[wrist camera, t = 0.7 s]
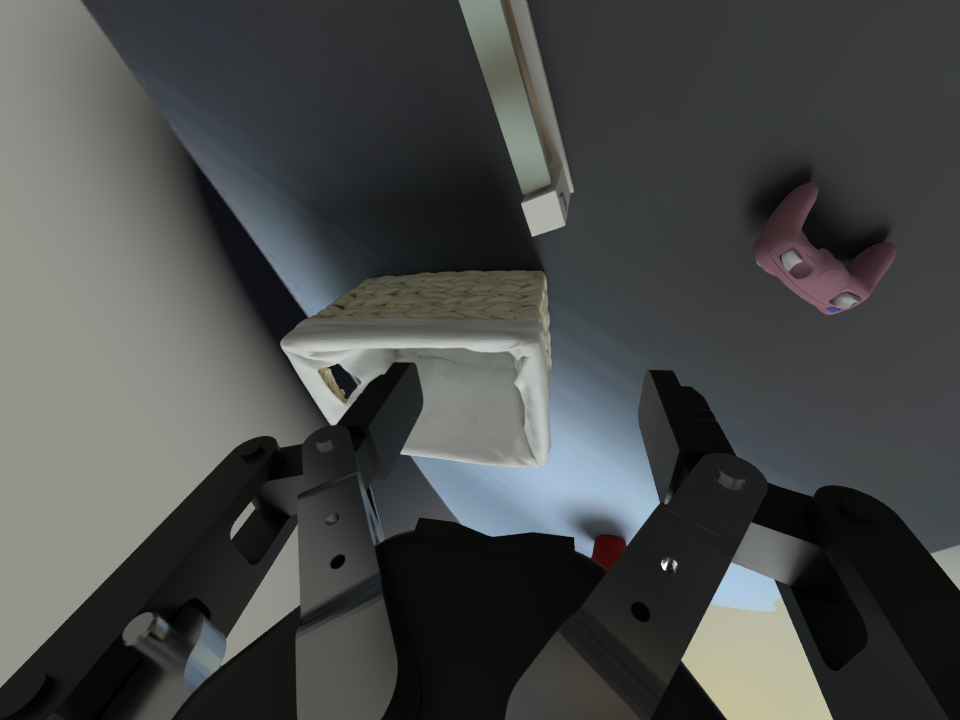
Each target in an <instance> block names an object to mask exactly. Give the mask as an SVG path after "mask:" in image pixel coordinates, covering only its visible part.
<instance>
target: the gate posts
mask: <svg viewBox="0 0 960 720" xmlns="http://www.w3.org/2000/svg"><path fill="white" fill-rule="evenodd" d="M510 3H511V7H512V11H513V14H514V18H515V22H516V25H517V29H518V33H519V36H520V40H521V44H522V48H523V51H524V55H525V59H526V62H527V66H528V70H529V73H530V77H531V81H532V84H533V88H534V92H535V96H536V99H537V103H538V107H539V110H540V114H541V118H542V121H543V125H544V129H545V132H546V136H547V140H548V144H549V147H550V151H551V155H552V160H551V163H550V165H549V167H550V171H551V174H552V178H553V180H552V183H551V184H549V185H546V186H544V187H541V188H539V189H536V190H534V191H531V192H529V193H526V195H525V197H524V199H523V201H522V203H521V205H522V208H523V212H524V215H525V217H526V220H527V223H528V226H529V229H530V232H531V235H532V237H533V236H536V235H539V234H542V233H545V232H548V231H551V230H554V229H557V228H560V227H563V226H565V224H566V218H567V211H568V205H569V199H570V193H572V192H574V186H573V182H572V178H571V174H570V170H569V166H568V162H567V158H566V154H565V150H564V146H563V142H562V138H561V134H560V130H559V126H558V122H557V118H556V114H555V110H554V106H553V102H552V98H551V94H550V90H549V86H548V82H547V78H546V74H545V70H544V66H543V62H542V58H541V54H540V50H539V46H538V42H537V38H536V34H535V30H534V26H533V22H532V18H531V14H530V10H529V6H528V2H527V0H510Z"/></svg>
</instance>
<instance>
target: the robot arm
mask: <svg viewBox="0 0 960 720" xmlns="http://www.w3.org/2000/svg"><path fill="white" fill-rule="evenodd" d="M423 401H424V400H423V392H422V388H421V383H420V379H419V374H418V369H417V366H416V364H415V363H414V362H394V363H393V364H392V365H391V366H390V367H389V369H388V370H387V371H386V373H385V374H381V375H379V376H378V377H376V378H375V379H373V380H372V381H370V382H369V383H368V385H367V386H366V387H365V388H364V390H363V391H362V393H360V395H359V396H358V397H357V400H355V401H354V402H353V404H352V405H351V406H350V407H349V409H348V410H347V411H346V413H345V414H344V415H343V416H342V418H341V419H340V420H339V421H338V423H337V424H336V425H331V426H327V427H323V428H321V429H319V430H317V431H315V432H314V433H312V434H311V435H310V436H309V437H308V438H307V439H306V440H305V442H304V443H303V444H301V445H294V446H288V447H282V448H280V447H279V445H278V443H277V441H276V439H274V438H273V437H270V436H261V437H256V438H253V439H251V440H248V441H246V442H244V443H242V444H241V445H239V446H238V447H236V448H235V449H234V450H233V451H232V452H231V453H230V454H229V455H228V456H227V457H226V458H225V459H224V460H223V461H222V462H221V463H220V464H219V465H218V466H217V467H216V468H215V469H214V470H213V471H212V472H211V473H210V474H209V475H208V476H207V477H206V478H205V479H204V480H203V481H202V483H200V484H199V485H198V486H197V488H196V489H195V490H194V491H193V492H192V493H191V494H190V495H189V496H188V497H187V498H186V499H185V500H184V501H183V502H182V503H181V504H180V505H179V506H178V507H177V508H176V509H175V510H174V511H173V512H172V513H171V514H170V515H169V516H168V517H167V518H166V519H165V520H164V521H163V522H162V523H161V524H160V525H159V526H158V527H157V528H156V529H155V530H154V531H153V532H152V533H151V534H150V536H149V537H148V538H147V539H146V540H145V541H144V542H143V543H142V544H141V545H140V546H139V547H138V548H137V549H136V550H135V551H134V552H133V553H132V554H131V555H130V556H129V557H128V558H127V559H126V560H125V561H124V562H123V563H122V564H121V565H120V566H119V567H118V568H117V569H116V570H115V571H114V572H113V573H112V574H111V575H110V576H109V577H108V578H107V579H106V580H105V581H104V583H103V584H102V585H101V586H100V587H99V588H98V589H97V590H96V591H95V592H94V593H93V594H92V595H91V596H90V597H89V598H88V599H87V600H86V601H85V602H84V603H83V604H82V605H81V606H80V607H79V608H78V609H77V610H76V611H75V612H74V613H73V614H72V615H71V616H70V617H69V619H67V620H66V621H65V622H64V623H63V624H62V626H60V627H59V628H58V630H57V631H56V632H55V633H54V634H53V635H52V636H51V637H50V638H49V639H48V640H47V641H46V642H45V643H44V644H43V645H42V646H41V647H40V648H39V649H38V650H37V651H36V652H35V653H34V654H33V655H32V656H31V657H30V658H29V659H28V660H27V661H26V662H25V663H24V664H23V665H22V666H21V667H20V668H19V669H18V670H17V671H16V672H15V674H13V675H12V677H11V678H10V679H9V680H8V681H7V682H6V683H5V684H4V685H3V686H2V687H1V688H0V720H727V719H726V718H725V716H724V715H723V714H722V712H721V711H720V710H719V709H718V707H717V706H716V705H715V703H714V702H713V701H712V700H711V698H710V697H709V696H708V694H707V693H706V692H705V691H704V689H703V688H702V687H701V686H700V684H699V683H698V682H697V680H696V679H695V678H694V676H693V675H692V674H691V673H690V671H689V670H688V669H687V667H686V666H685V665H684V664H683V662H682V661H681V659H682V657H683V655H684V653H685V651H686V649H687V647H688V645H689V643H690V641H691V639H692V637H693V635H694V633H695V632H696V630H697V627H698V626H699V624H700V622H701V620H702V618H703V616H704V614H705V612H706V610H707V608H708V606H709V604H710V602H711V600H712V598H713V596H714V594H715V592H716V591H717V589H718V587H719V585H720V583H721V581H722V579H723V577H724V575H725V573H726V571H727V569H728V567H729V565H730V563H731V562H733V563H735V564H738V565H740V566H743V567H745V568H748V569H750V570H753V571H755V572H758V573H760V574H763V575H765V576H768V577H770V578H772V579H774V580H775V582H776V584H777V587H778V589H779V592H780V594H781V596H782V599H783V601H784V604H785V606H786V608H787V611H788V613H789V615H790V618H791V620H792V623H793V625H794V627H795V630H796V632H797V635H798V637H799V639H800V642H801V644H802V646H803V649H804V651H805V654H806V656H807V658H808V661H809V663H810V665H811V668H812V670H813V673H814V675H815V677H816V680H817V682H818V685H819V687H820V689H821V692H822V694H823V696H824V699H825V701H826V704H827V706H828V708H829V711H830V713H831V716H832V718H833V720H960V590H959V589H958V588H957V587H956V586H955V584H954V583H953V582H952V581H951V579H950V578H949V577H948V576H947V574H946V573H945V572H944V571H943V570H942V568H941V567H940V566H939V565H938V563H937V562H936V561H935V560H934V559H933V557H932V556H931V555H930V554H929V552H928V551H927V550H926V549H925V547H924V546H923V545H922V544H921V543H920V541H919V540H918V539H917V538H916V536H915V535H914V534H913V533H912V532H911V530H910V529H909V528H908V527H907V525H906V524H905V523H904V522H903V520H902V519H901V518H900V517H899V516H898V515H897V514H896V513H895V512H894V511H893V510H892V509H890V508H889V507H888V506H886V505H885V504H884V503H882V502H880V501H879V500H877V499H875V498H873V497H872V496H870V495H868V494H865V493H863V492H861V491H858V490H855V489H852V488H848V487H843V486H834V485H831V486H824V487H821V488H819V489H818V490H817V491H816V492H815V494H814V496H813V497H812V496H808V495H805V494H802V493H798V492H795V491H792V490H788V489H785V488H782V487H778V486H776V485H773V484H770V483H768V482H767V480H766V478H765V477H764V475H763V474H762V473H761V472H760V471H759V470H758V469H757V468H756V467H755V466H753V465H752V464H751V463H749V462H747V461H745V460H743V459H741V458H739V457H737V456H736V454H735V453H734V451H733V449H732V447H731V445H730V444H729V442H728V440H727V438H726V436H725V434H724V433H723V431H722V429H721V427H720V425H719V424H718V422H717V421H716V418H715V416H714V414H713V413H712V411H710V407H709V405H708V404H707V402H706V400H705V398H704V397H703V396H702V395H701V394H699V393H698V392H697V391H696V390H694V389H693V388H692V387H686V386H680V383H679V381H678V379H677V377H676V375H675V373H674V372H673V371H670V370H647V371H646V373H645V376H644V382H643V387H642V392H641V398H640V403H639V409H638V421H639V427H640V430H641V434H642V438H643V441H644V445H645V449H646V452H647V456H648V460H649V463H650V467H651V471H652V475H653V478H654V482H655V486H656V489H657V493H658V497H659V500H660V504H659V505H658V506H657V508H656V509H655V510H654V511H653V513H652V514H651V515H650V517H649V518H648V519H647V521H646V522H645V523H644V525H643V526H642V527H641V528H640V530H639V531H638V532H637V534H636V535H635V536H634V538H633V539H632V540H631V542H630V543H629V544H628V546H627V547H626V548H625V550H624V551H623V552H622V553H621V555H620V556H619V557H618V559H617V560H616V561H615V563H614V564H613V565H612V567H611V568H610V569H609V571H608V570H607V569H605V568H604V567H603V566H602V565H600V564H599V563H597V562H596V561H594V560H593V559H591V558H589V557H587V556H585V555H583V554H581V553H579V552H576V551H575V546H574V537H566V536H559V535H551V534H543V533H535V532H531V533H523V534H514V535H506V536H497V537H491V536H487V535H485V534H482V533H480V532H478V531H475V530H473V529H470V528H468V527H465V526H463V525H460V524H458V523H456V522H450V521H442V520H434V519H426V518H419V520H418V523H417V525H416V528H415V530H410V531H406V532H402V533H399V534H397V535H394V536H392V537H390V538H388V539H386V540H385V538H384V535H383V532H382V528H381V524H380V520H379V517H378V513H377V509H376V505H375V502H374V498H373V494H372V490H371V488H370V484H371V482H372V481H373V479H374V478H375V479H384V480H387V478H388V476H389V474H390V472H391V470H392V468H393V466H394V464H395V462H396V460H397V458H398V456H399V454H400V453H401V451H402V449H403V447H404V445H405V443H406V441H407V439H408V437H409V435H410V433H411V431H412V429H413V427H414V425H415V423H416V421H417V419H418V417H419V416H420V414H421V411H422V408H423ZM250 502H252V504H253V505H254V506H255V510H254V511H253V512H252V514H251V515H250V516H249V518H248V519H247V520H246V521H245V523H244V524H243V525H242V527H241V528H240V529H239V531H238V532H237V534H236V535H235V536H234V537H233V539H232V540H231V538H230V532H231V528H232V526H233V524H234V522H235V521H236V519H237V518H238V517H239V516H240V514H241V513H242V512H243V511H244V509H245V508H246V507H247V505H248V504H249V503H250ZM297 524H298V541H299V542H298V543H299V544H298V545H299V573H300V605H299V606H298V607H297V608H295V609H294V610H293V611H292V612H290V613H289V614H288V615H287V616H285V617H284V618H283V619H282V620H280V621H279V622H278V623H277V624H275V625H274V626H273V627H272V628H270V629H269V630H268V631H266V632H265V633H264V634H262V635H261V636H260V637H259V638H257V639H256V640H255V641H253V642H252V643H251V644H250V645H248V646H247V647H246V648H245V649H244V650H242V651H241V652H239V653H238V654H237V655H236V656H234V657H233V658H232V659H231V660H229V661H228V662H227V663H226V664H224V665H223V666H221V665H220V664H221V662H222V660H223V657H224V655H225V650H226V638H227V636H228V635H229V633H230V632H231V630H232V628H233V627H234V625H235V624H236V622H237V620H238V618H239V617H240V615H241V614H242V612H243V611H244V609H245V607H246V606H247V604H248V603H249V601H250V599H251V598H252V596H253V595H254V593H255V591H256V590H257V588H258V587H259V585H260V583H261V582H262V580H263V579H264V577H265V575H266V574H267V572H268V571H269V569H270V567H271V566H272V564H273V562H274V561H275V559H276V558H277V556H278V554H279V553H280V551H281V549H282V548H283V546H284V545H285V543H286V542H287V540H288V538H289V537H290V535H291V534H292V532H293V530H294V529H295V527H296V525H297Z"/></svg>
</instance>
